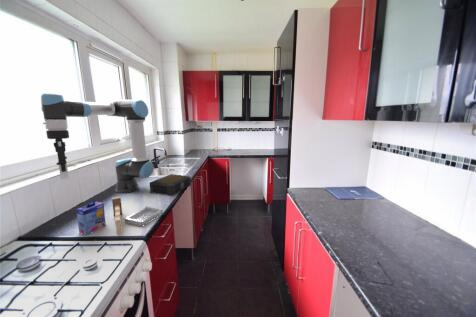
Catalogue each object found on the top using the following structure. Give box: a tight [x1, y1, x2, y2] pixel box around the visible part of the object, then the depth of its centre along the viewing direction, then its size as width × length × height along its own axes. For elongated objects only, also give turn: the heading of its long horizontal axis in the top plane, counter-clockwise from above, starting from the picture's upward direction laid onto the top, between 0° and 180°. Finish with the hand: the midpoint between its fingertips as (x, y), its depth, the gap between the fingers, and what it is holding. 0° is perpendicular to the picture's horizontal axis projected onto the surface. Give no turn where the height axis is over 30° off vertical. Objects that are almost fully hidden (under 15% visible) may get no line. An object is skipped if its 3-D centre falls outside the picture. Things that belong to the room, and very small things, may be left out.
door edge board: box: [111, 196, 123, 235], centre depth 102 cm, size 24×4×10 cm, turn 31°
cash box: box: [149, 173, 192, 197], centre depth 154 cm, size 25×20×8 cm
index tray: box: [124, 206, 163, 227], centre depth 108 cm, size 15×11×2 cm
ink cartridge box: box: [75, 199, 107, 236], centre depth 96 cm, size 10×6×14 cm, turn 161°
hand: (64, 175), depth 95 cm, fingers open, 13 cm apart
